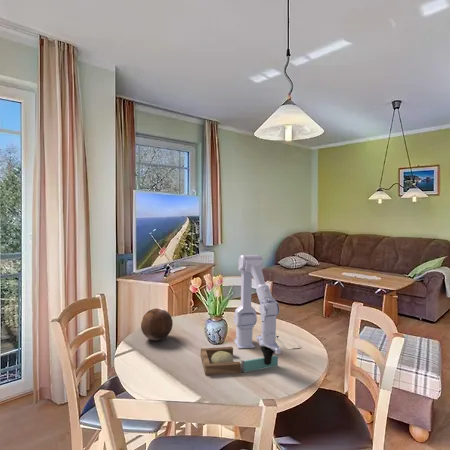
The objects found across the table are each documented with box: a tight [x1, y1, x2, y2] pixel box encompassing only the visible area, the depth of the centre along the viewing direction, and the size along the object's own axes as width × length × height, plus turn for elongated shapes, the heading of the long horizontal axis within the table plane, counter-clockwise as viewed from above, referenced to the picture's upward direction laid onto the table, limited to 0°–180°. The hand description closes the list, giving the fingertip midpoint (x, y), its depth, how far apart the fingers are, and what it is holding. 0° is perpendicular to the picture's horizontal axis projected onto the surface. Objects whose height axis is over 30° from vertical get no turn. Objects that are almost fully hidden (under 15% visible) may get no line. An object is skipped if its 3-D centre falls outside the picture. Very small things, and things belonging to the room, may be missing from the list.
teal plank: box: [240, 354, 279, 373], centre depth 133 cm, size 17×1×4 cm, turn 112°
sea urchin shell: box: [210, 351, 234, 363], centre depth 137 cm, size 9×8×8 cm
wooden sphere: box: [140, 307, 173, 341], centre depth 160 cm, size 15×15×15 cm
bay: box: [200, 346, 242, 376], centre depth 137 cm, size 16×14×4 cm
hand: (267, 364), depth 134 cm, fingers closed
